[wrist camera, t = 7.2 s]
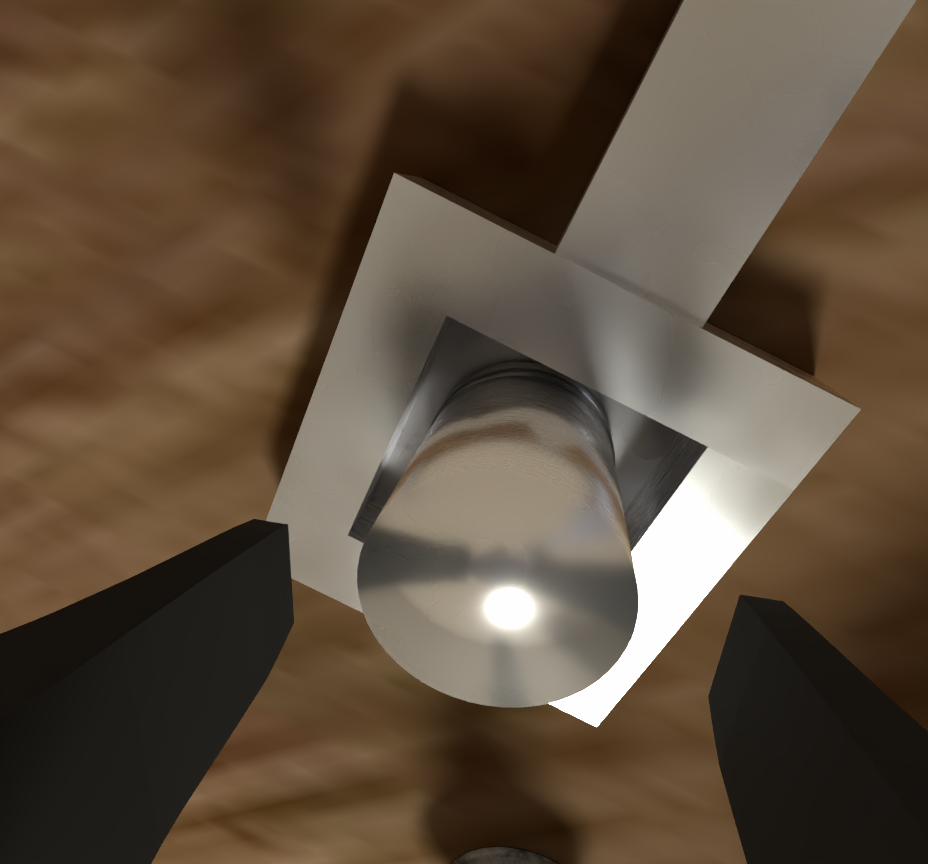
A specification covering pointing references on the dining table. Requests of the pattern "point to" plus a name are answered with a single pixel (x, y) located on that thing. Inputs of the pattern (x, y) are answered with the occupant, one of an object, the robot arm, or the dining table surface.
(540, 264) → the grey piece
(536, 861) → the grey figurine
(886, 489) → the dining table surface
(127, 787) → the robot arm
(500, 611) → the shiny metal cylinder
